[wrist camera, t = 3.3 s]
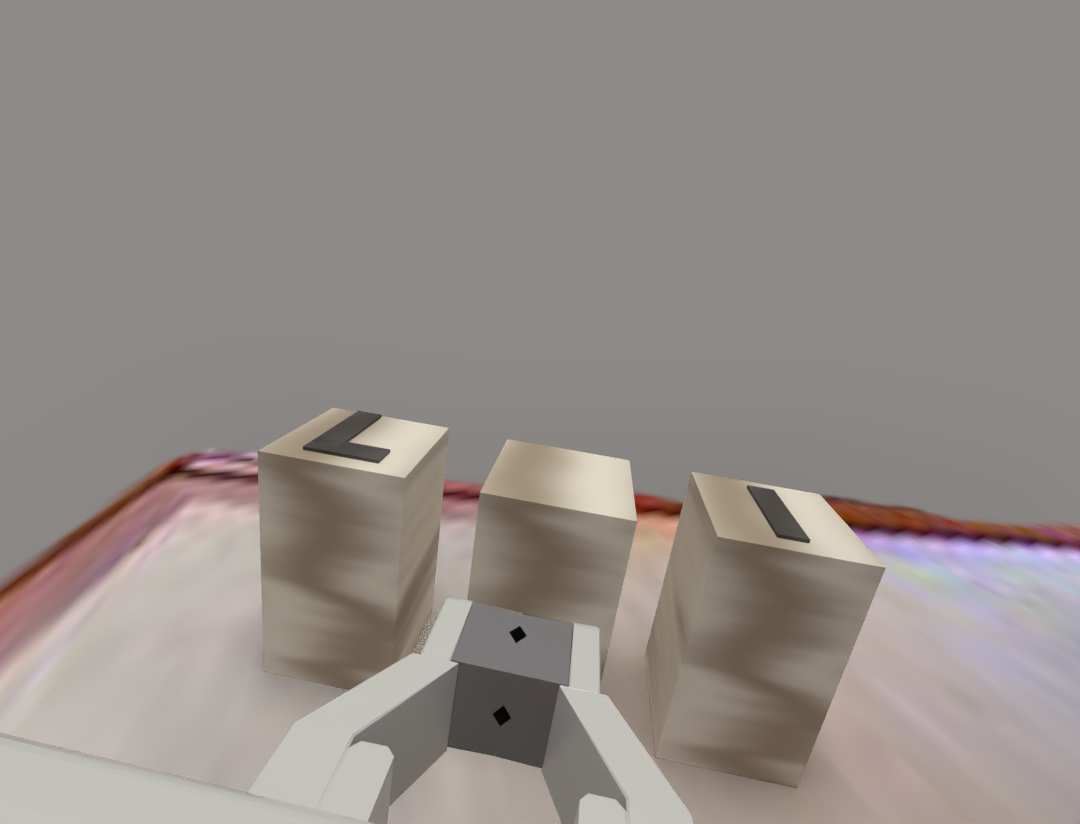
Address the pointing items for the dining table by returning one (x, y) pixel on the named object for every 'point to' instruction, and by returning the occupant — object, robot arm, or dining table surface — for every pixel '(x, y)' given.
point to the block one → (754, 627)
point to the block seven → (348, 544)
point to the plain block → (554, 535)
